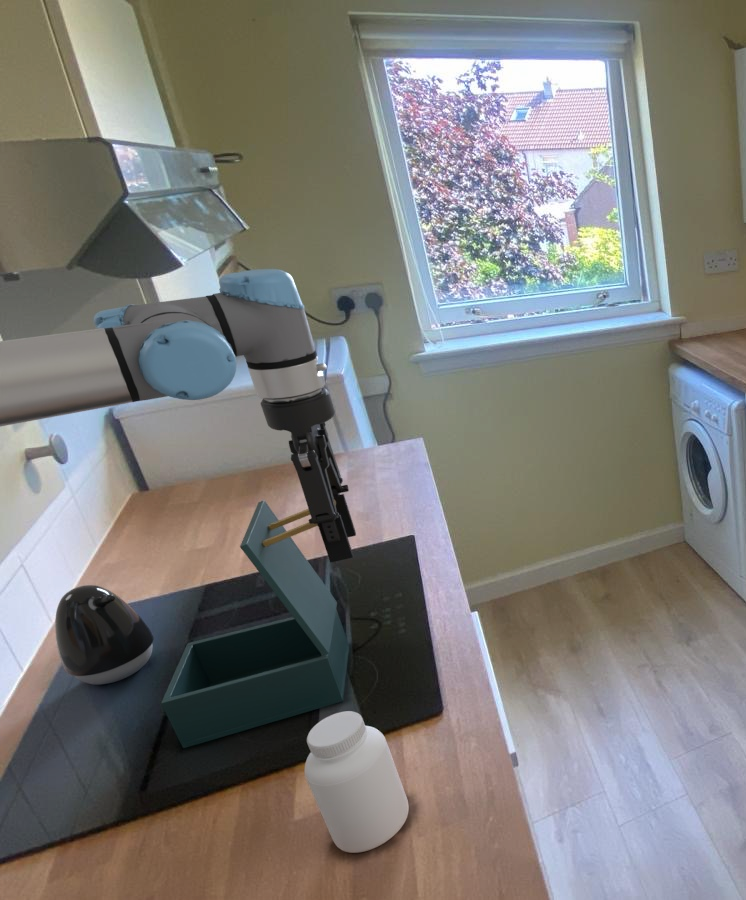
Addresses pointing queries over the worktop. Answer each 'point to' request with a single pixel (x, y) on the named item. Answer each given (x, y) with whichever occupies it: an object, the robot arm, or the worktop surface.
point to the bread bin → (253, 680)
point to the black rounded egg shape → (100, 636)
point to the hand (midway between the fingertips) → (343, 547)
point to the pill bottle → (355, 782)
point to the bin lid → (291, 573)
